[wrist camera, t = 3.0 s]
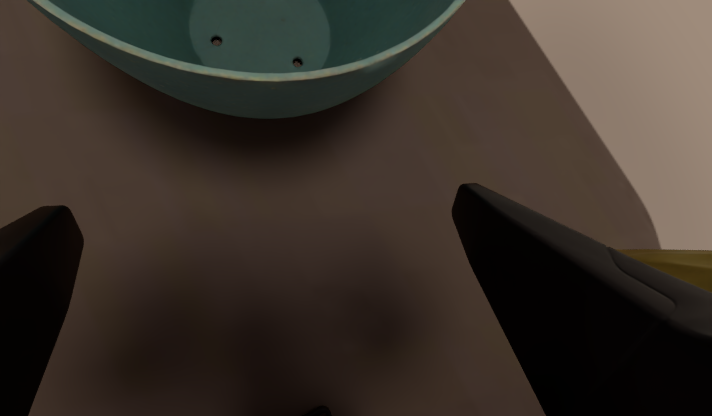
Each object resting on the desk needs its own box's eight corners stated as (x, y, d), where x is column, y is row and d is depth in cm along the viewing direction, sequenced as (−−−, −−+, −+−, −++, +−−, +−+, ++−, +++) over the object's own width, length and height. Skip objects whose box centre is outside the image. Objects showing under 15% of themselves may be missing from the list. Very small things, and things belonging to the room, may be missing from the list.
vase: (532, 246, 26) (835, 237, 12) (603, 246, 27) (949, 237, 13) (539, 335, 25) (870, 436, 11) (611, 330, 26) (987, 414, 12)
